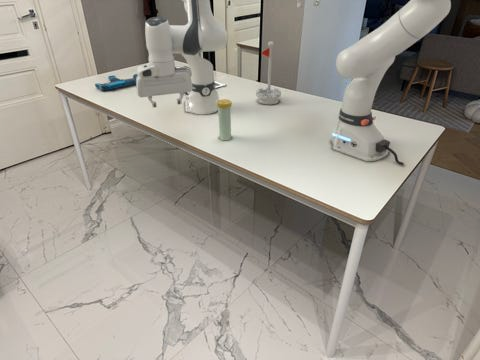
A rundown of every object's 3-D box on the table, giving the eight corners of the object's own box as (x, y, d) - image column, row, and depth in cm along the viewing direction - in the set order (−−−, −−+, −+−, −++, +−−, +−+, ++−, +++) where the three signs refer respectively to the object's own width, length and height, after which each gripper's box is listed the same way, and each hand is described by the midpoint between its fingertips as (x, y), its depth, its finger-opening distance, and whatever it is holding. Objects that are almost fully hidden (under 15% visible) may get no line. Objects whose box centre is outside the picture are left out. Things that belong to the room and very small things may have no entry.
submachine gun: (139, 68, 224) (158, 74, 208) (140, 74, 226) (159, 81, 209) (87, 78, 206) (103, 86, 189) (89, 85, 208) (104, 93, 191)
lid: (234, 105, 137) (234, 101, 136) (225, 109, 133) (225, 105, 132) (222, 102, 140) (222, 98, 139) (214, 106, 136) (214, 102, 135)
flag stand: (273, 95, 188) (277, 37, 172) (284, 103, 178) (289, 42, 162) (252, 98, 184) (253, 39, 168) (262, 106, 174) (264, 45, 158)
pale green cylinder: (233, 137, 145) (232, 102, 136) (226, 141, 141) (225, 106, 133) (224, 134, 147) (222, 99, 138) (217, 138, 144) (215, 103, 135)
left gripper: (189, 63, 126) (192, 99, 134) (132, 68, 120) (139, 105, 128) (193, 67, 121) (195, 104, 129) (134, 73, 115) (140, 111, 123)
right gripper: (297, -35, 119) (294, 9, 127) (336, -36, 129) (331, 5, 137) (285, -35, 124) (283, 7, 131) (324, -36, 134) (319, 4, 141)
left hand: (167, 105), depth 128 cm, fingers open, 8 cm apart
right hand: (308, 6), depth 134 cm, fingers open, 8 cm apart
